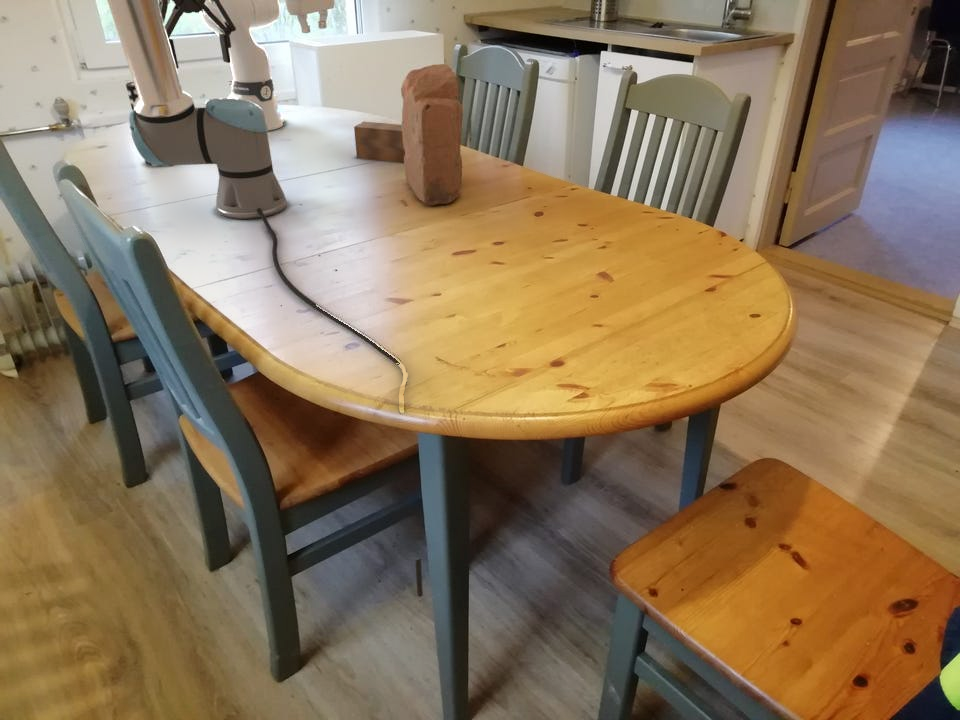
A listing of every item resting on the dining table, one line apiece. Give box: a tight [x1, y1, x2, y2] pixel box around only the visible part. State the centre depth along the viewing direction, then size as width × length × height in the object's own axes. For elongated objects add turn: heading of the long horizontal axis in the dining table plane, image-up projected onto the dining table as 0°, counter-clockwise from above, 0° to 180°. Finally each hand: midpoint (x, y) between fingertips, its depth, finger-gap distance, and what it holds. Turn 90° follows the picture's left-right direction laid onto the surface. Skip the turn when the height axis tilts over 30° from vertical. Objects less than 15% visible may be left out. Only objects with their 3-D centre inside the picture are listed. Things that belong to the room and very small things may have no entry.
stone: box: [400, 63, 464, 206], centre depth 161 cm, size 22×11×28 cm, turn 18°
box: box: [353, 121, 405, 164], centre depth 189 cm, size 24×6×8 cm, turn 74°
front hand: (201, 64), depth 176 cm, fingers open, 13 cm apart
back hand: (314, 30), depth 187 cm, fingers open, 8 cm apart
